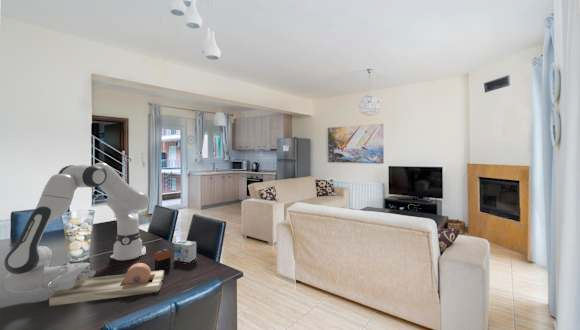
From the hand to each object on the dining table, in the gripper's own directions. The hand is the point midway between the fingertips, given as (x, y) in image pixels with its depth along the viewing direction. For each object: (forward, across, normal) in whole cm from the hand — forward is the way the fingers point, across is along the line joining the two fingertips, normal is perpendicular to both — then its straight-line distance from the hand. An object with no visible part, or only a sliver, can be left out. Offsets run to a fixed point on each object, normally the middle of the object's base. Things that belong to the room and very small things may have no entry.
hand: (94, 273), depth 119 cm
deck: (+7, 0, +8) cm, 11 cm away
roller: (+17, 0, +3) cm, 17 cm away
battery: (+25, +19, +8) cm, 33 cm away
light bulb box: (+36, +26, +8) cm, 46 cm away
